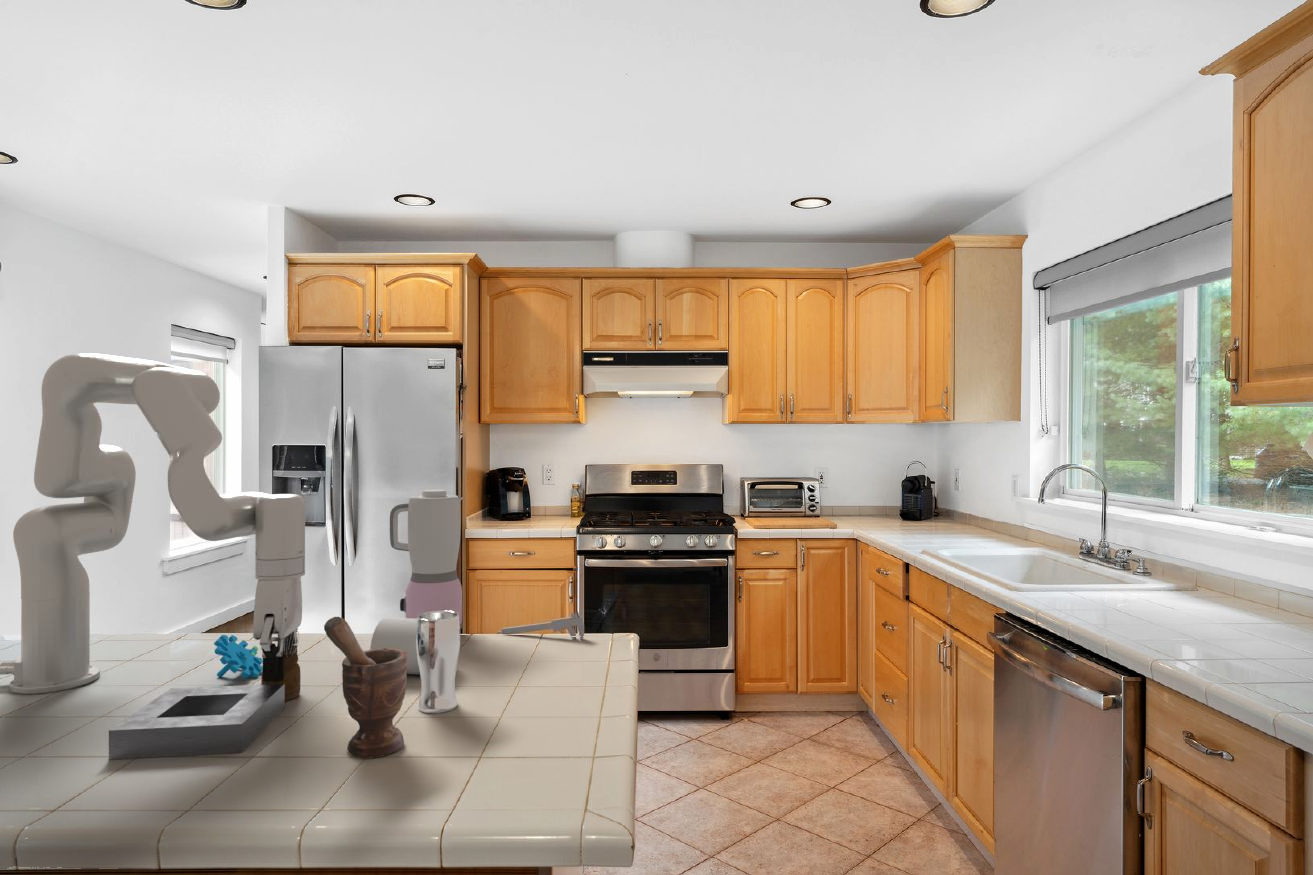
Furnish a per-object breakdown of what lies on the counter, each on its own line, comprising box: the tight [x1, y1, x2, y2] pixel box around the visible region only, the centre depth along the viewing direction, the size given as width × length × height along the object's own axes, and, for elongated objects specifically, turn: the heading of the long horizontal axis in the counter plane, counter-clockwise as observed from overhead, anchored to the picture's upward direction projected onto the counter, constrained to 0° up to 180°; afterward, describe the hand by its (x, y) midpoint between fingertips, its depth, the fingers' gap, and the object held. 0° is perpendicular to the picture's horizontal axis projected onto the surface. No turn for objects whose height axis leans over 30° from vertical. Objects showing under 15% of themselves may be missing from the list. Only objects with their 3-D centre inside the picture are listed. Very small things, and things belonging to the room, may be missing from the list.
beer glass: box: [416, 611, 461, 714], centre depth 122 cm, size 7×7×15 cm
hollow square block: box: [108, 684, 286, 761], centre depth 111 cm, size 17×17×4 cm
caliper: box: [496, 611, 585, 641], centre depth 165 cm, size 20×1×6 cm, turn 76°
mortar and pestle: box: [323, 616, 408, 759], centre depth 104 cm, size 12×9×20 cm
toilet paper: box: [369, 617, 420, 676], centre depth 140 cm, size 10×10×10 cm
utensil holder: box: [260, 630, 301, 702], centre depth 126 cm, size 6×6×12 cm
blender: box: [389, 489, 464, 630], centre depth 166 cm, size 16×12×32 cm
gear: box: [213, 634, 263, 679], centre depth 137 cm, size 11×6×10 cm
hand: (280, 673), depth 126 cm, fingers closed on utensil holder, 5 cm apart
